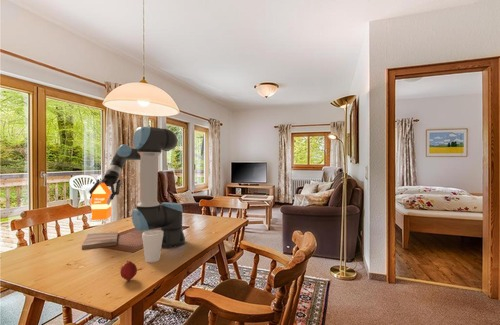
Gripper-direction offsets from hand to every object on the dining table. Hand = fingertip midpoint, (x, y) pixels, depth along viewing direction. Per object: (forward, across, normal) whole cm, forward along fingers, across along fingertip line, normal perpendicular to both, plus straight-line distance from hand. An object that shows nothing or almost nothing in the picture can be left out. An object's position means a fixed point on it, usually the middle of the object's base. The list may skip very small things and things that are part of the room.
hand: (98, 203), depth 141 cm
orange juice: (+4, 0, -9) cm, 10 cm away
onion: (+48, -35, +16) cm, 61 cm away
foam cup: (+33, -38, +2) cm, 50 cm away
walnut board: (+13, 0, -18) cm, 22 cm away
